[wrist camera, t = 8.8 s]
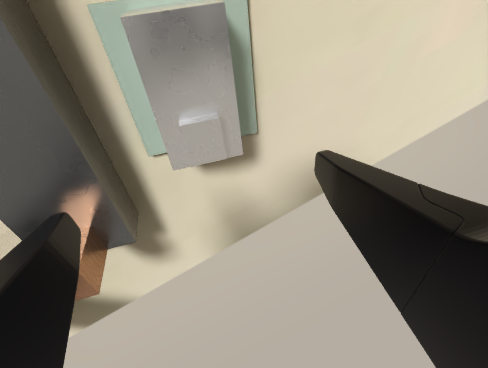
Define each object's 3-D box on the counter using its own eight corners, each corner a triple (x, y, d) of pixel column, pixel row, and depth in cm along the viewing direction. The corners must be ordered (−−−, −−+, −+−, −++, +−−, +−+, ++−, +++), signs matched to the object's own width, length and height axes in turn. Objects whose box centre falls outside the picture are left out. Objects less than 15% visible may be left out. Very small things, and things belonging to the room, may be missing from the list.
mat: (255, 130, 22) (257, 132, 22) (148, 153, 21) (148, 156, 21) (243, -18, 16) (245, -18, 15) (88, 4, 15) (87, 5, 14)
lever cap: (232, 132, 21) (246, 160, 18) (171, 145, 21) (173, 177, 17) (213, -3, 15) (227, 3, 12) (127, 9, 15) (117, 19, 11)
